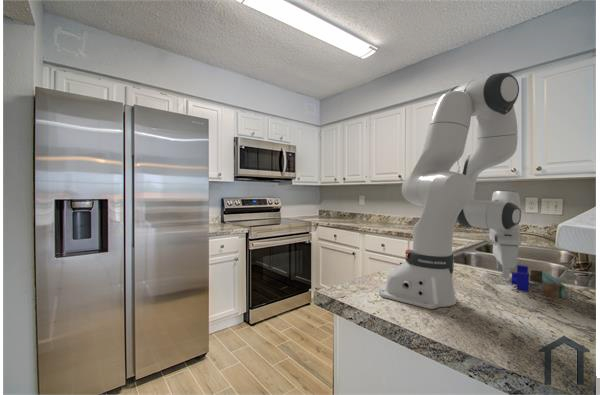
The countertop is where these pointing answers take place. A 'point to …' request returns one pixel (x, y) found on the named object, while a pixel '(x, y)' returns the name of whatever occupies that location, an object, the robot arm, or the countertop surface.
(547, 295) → the rail
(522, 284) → the cable clip
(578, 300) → the countertop surface
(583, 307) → the countertop surface
